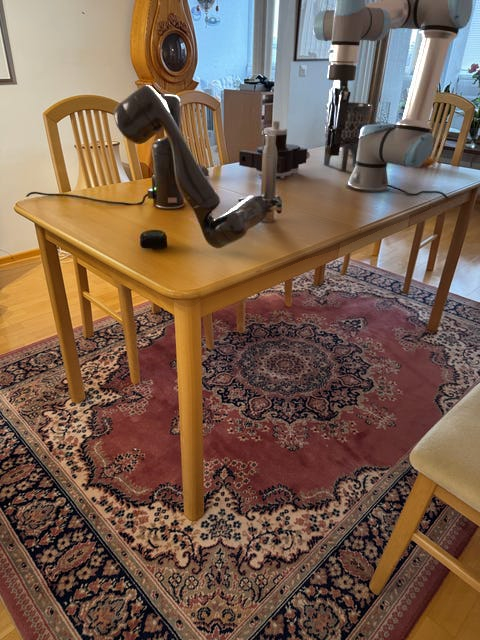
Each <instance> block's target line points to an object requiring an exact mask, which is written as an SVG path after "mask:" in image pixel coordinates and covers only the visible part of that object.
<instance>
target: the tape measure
mask: <svg viewBox="0 0 480 640" xmlns="http://www.w3.org/2000/svg"><path fill="white" fill-rule="evenodd" d="M167 236H168V235H167V234H166V232H165V231H164V230H161V229H147V230H144V231H143V232H141V233H140V235H139V240H140V241H139V245H140V246H139V247H141V248H142V249H146V250H157V249H167V248H168V240H167V239H168V237H167Z"/></svg>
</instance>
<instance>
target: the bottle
mask: <svg viewBox="0 0 480 640" xmlns="http://www.w3.org/2000/svg"><path fill="white" fill-rule="evenodd" d="M265 138H266V143H265V147H264V150H263V156H262V175H261V179H260V180H261V182H260V183H261V184H260V194H261V198H263V199H267V198H272V199H273V198H274V197H276V187H277V176H276V171H277V148H276V135H266V136H265ZM274 221H275V210H272V212H269V213H268V214H267V216H266V217H265V218H264V219H263V220H262V221H261V222H262V223H273V222H274ZM261 222H260V223H261Z"/></svg>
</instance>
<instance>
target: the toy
mask: <svg viewBox="0 0 480 640" xmlns="http://www.w3.org/2000/svg"><path fill="white" fill-rule="evenodd" d="M434 164H435V160H434V159H433V158H430V156H429V157H428V158H427V160H426V161H425V162H424V163H423V164H422V165H420V166H419V167H418V168H421V169H422V168H423V169H424V168H426V167H430V166H433V165H434Z"/></svg>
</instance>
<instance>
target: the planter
mask: <svg viewBox="0 0 480 640" xmlns="http://www.w3.org/2000/svg"><path fill="white" fill-rule="evenodd" d="M328 105H329V102H327V103H326V109H325V124H324V125H325V126H324V139H325V144H324V149H325V148H326V142H327V133H328V126H327V125H326V123H327V114H328ZM373 107H374V106H373V104H372V103H367V102H353V101H349V103H348V110H347V117H346V124H345V130H343V131H342V135H341V143H340V148H342V152H341V166H340V170H341V172H345V171H347V167H348V166H347V165H348V159H349V154H348V152H349V150H350V151H351V153H352V155H351V157H352V158H351V159H352V160H351V161H352V166H353V167H355V165H356V158H357V151H358V143H359V136H360V132H361V128H362V127H363V126H365V125H370V121H371V116H372V112H373ZM323 157H324V158H323V165H325V166H328V165H330V163H331V158H332V156H330V155H329V154H326V153H325V152H324V156H323Z"/></svg>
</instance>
